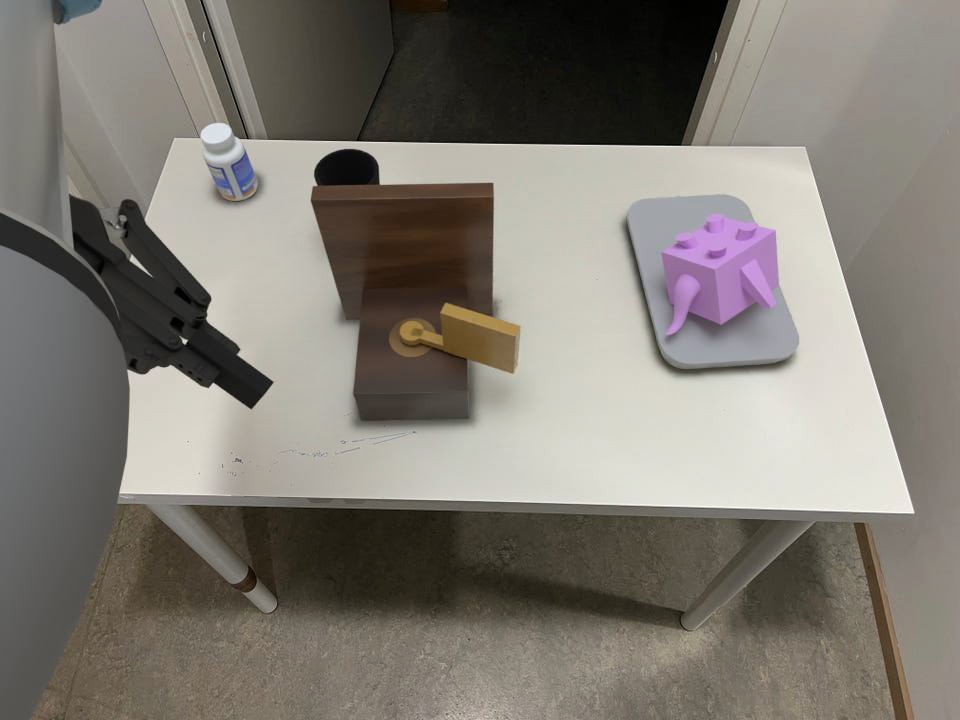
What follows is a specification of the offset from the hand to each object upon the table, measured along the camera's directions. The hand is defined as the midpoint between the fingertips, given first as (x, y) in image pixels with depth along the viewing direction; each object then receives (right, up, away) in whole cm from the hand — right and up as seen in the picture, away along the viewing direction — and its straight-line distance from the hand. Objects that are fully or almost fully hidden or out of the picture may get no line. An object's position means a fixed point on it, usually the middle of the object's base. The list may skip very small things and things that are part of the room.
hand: (262, 395), depth 51 cm
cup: (+1, +19, +40) cm, 44 cm away
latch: (+14, +4, +22) cm, 27 cm away
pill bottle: (-18, +27, +45) cm, 55 cm away
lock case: (+9, +2, +29) cm, 30 cm away
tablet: (+44, +12, +35) cm, 58 cm away
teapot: (+43, +17, +23) cm, 51 cm away
